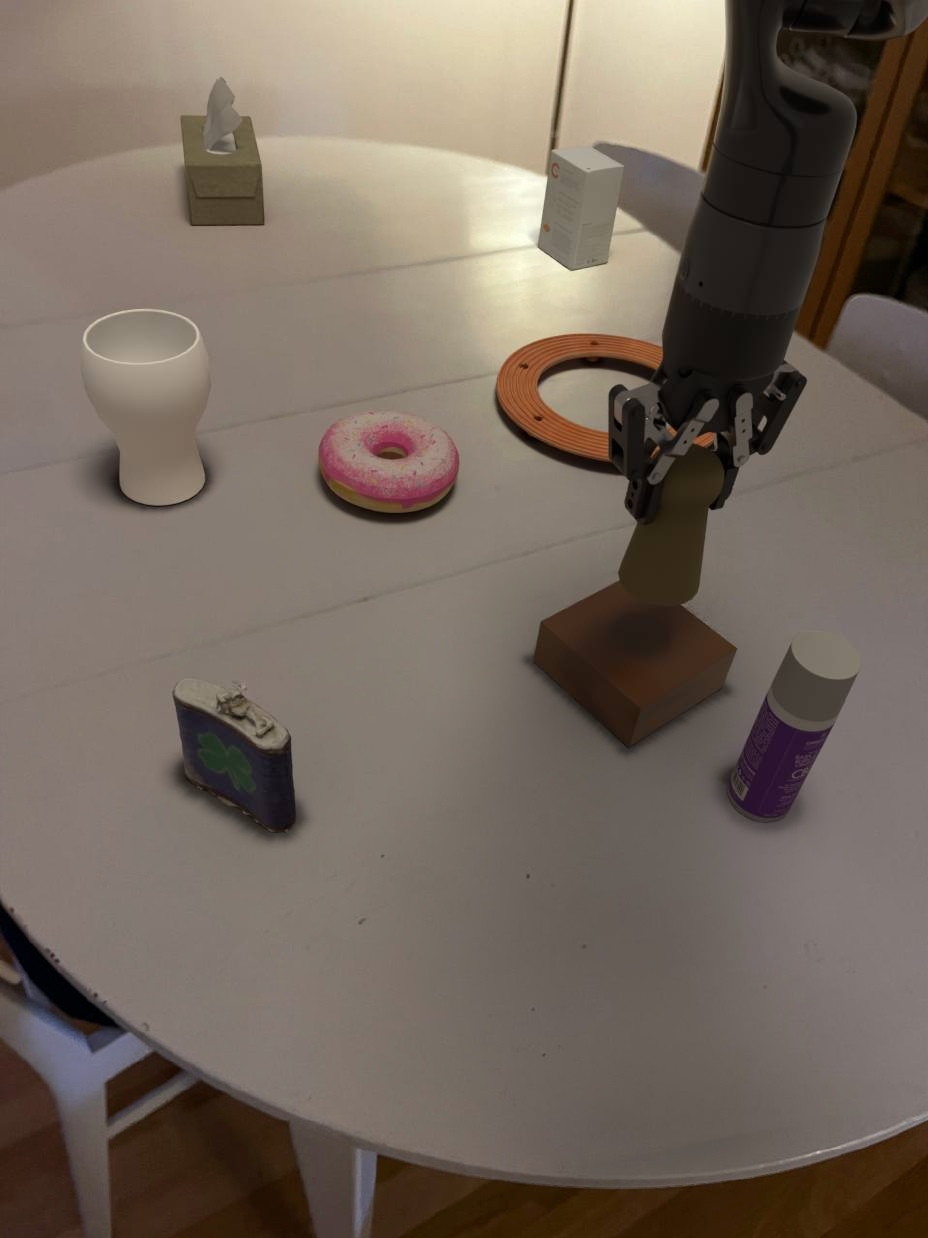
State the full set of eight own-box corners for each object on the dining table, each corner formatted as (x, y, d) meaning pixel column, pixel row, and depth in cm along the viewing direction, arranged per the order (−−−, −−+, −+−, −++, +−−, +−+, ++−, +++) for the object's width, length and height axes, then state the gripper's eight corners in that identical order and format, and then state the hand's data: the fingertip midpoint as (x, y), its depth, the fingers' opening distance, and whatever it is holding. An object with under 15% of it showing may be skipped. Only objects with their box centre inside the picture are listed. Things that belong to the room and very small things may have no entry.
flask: (177, 776, 72) (160, 671, 64) (206, 750, 74) (192, 645, 66) (281, 841, 69) (275, 738, 61) (308, 811, 71) (305, 709, 63)
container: (777, 833, 73) (850, 692, 62) (717, 801, 74) (778, 658, 64) (799, 790, 76) (872, 649, 65) (740, 760, 77) (803, 617, 67)
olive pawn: (710, 603, 74) (749, 479, 66) (630, 609, 73) (660, 484, 65) (684, 549, 78) (717, 427, 70) (608, 554, 77) (634, 431, 69)
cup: (153, 436, 101) (132, 294, 90) (243, 471, 98) (232, 327, 88) (79, 491, 94) (46, 343, 83) (173, 530, 91) (152, 381, 80)
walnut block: (722, 687, 83) (737, 648, 80) (628, 748, 77) (640, 708, 74) (626, 609, 88) (637, 570, 85) (532, 660, 83) (540, 621, 80)
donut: (461, 527, 95) (466, 483, 91) (316, 523, 93) (315, 479, 90) (452, 444, 104) (456, 402, 101) (321, 440, 103) (320, 397, 99)
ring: (526, 483, 101) (529, 462, 99) (472, 353, 118) (474, 333, 116) (761, 470, 106) (768, 451, 104) (676, 347, 123) (681, 329, 122)
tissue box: (264, 226, 138) (259, 101, 127) (190, 226, 136) (178, 99, 125) (253, 172, 151) (247, 55, 140) (185, 172, 149) (174, 53, 138)
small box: (607, 263, 139) (626, 165, 130) (570, 271, 136) (586, 171, 127) (572, 239, 144) (588, 143, 135) (536, 246, 141) (549, 148, 132)
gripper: (672, 324, 55) (613, 564, 66) (878, 295, 60) (789, 523, 71) (603, 263, 59) (559, 497, 71) (800, 241, 64) (728, 463, 76)
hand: (675, 509), depth 71 cm, fingers closed on olive pawn, 5 cm apart
